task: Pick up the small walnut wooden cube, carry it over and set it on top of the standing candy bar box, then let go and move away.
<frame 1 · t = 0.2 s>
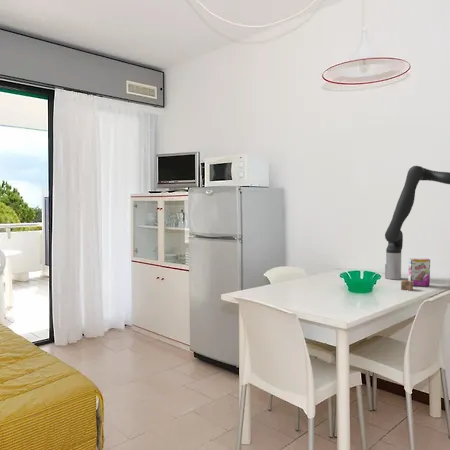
walnut cube: (407, 289, 242), on the table
candy bar box: (418, 286, 253), on the table
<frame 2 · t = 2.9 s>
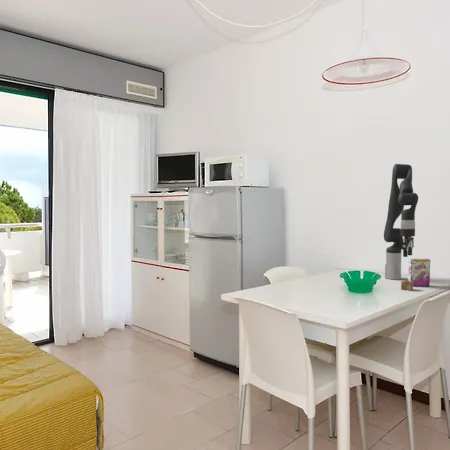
hand: (407, 256, 241), 19 cm above the table, tool pointing down, fingers open, 8 cm apart
nothing on the table moved.
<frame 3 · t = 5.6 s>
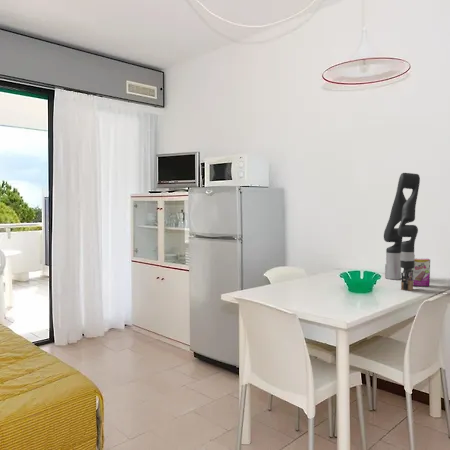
hand: (407, 288, 242), 0 cm above the table, tool pointing down, fingers closed on walnut cube, 5 cm apart
walnut cube: (407, 289, 242), on the table, touching gripper
everything else where it was.
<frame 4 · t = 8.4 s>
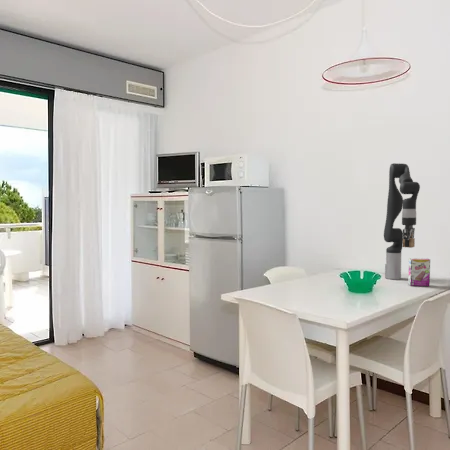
hand: (408, 246, 242), 25 cm above the table, tool pointing down, fingers closed on walnut cube, 5 cm apart
walnut cube: (408, 246, 242), point 24 cm above the table, touching gripper
everything else where it was.
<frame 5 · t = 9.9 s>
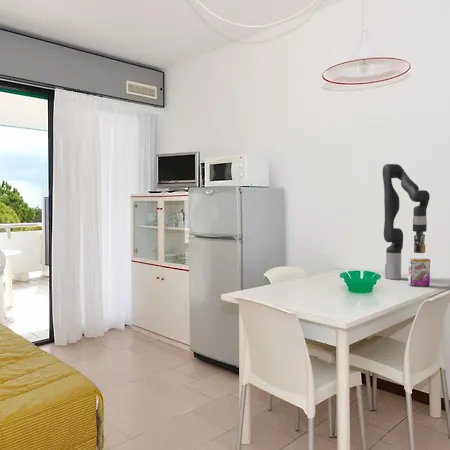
hand: (419, 251, 252), 20 cm above the table, tool pointing down, fingers closed on walnut cube, 5 cm apart
walnut cube: (419, 252, 252), point 20 cm above the table, touching gripper
everything else where it was.
when the fingers open (17 cm above the table, at t = 11.0 s): walnut cube stays where it is, resting on candy bar box.
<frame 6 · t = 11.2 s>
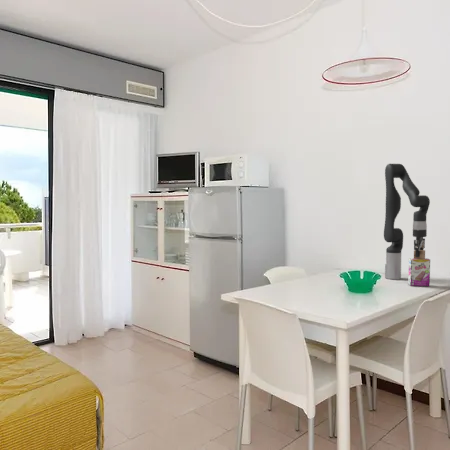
hand: (419, 256, 252), 18 cm above the table, tool pointing down, fingers open, 6 cm apart
walnut cube: (419, 258, 252), point 16 cm above the table, touching candy bar box
candy bar box: (418, 286, 253), on the table, touching walnut cube
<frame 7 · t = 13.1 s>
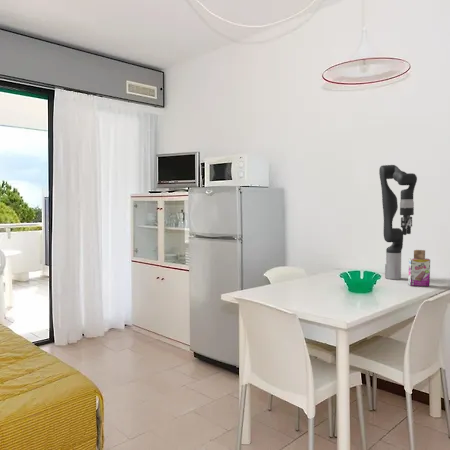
hand: (406, 234, 250), 31 cm above the table, tool pointing down, fingers open, 8 cm apart
nothing on the table moved.
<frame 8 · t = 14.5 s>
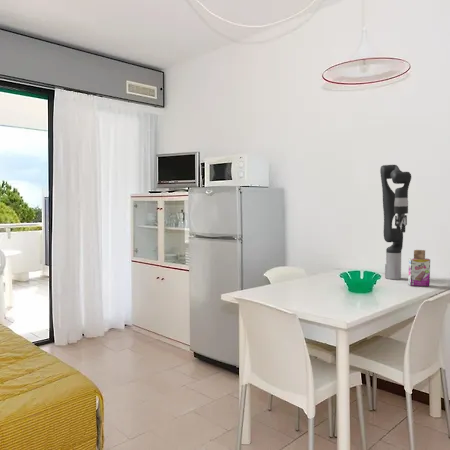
hand: (400, 232, 249), 32 cm above the table, tool pointing down, fingers open, 8 cm apart
nothing on the table moved.
at the end: walnut cube 0.1 cm off-centre on the candy bar box, point 16.6 cm above the candy bar box's base; candy bar box tilted 0°; the gripper is holding nothing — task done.
